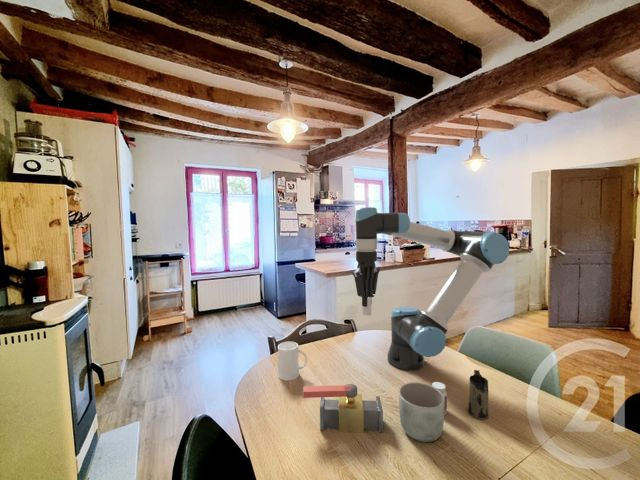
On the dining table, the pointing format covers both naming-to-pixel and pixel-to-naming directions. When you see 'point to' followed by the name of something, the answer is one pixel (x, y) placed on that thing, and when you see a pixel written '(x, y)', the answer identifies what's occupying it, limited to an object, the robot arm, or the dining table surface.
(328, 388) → the lever
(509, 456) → the dining table surface
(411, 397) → the planter
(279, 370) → the mug
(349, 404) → the valve
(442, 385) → the pill bottle
